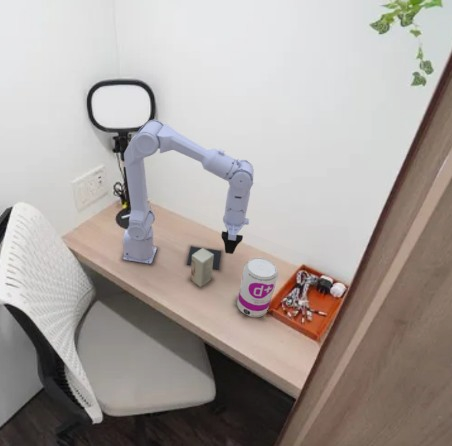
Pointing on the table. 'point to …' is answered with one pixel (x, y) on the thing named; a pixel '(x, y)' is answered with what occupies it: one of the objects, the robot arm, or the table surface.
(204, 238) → the table surface
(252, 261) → the supplement can
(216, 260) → the pad
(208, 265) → the product carton box
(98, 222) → the table surface
